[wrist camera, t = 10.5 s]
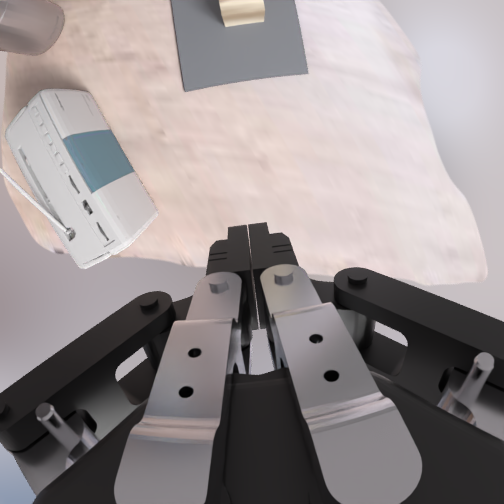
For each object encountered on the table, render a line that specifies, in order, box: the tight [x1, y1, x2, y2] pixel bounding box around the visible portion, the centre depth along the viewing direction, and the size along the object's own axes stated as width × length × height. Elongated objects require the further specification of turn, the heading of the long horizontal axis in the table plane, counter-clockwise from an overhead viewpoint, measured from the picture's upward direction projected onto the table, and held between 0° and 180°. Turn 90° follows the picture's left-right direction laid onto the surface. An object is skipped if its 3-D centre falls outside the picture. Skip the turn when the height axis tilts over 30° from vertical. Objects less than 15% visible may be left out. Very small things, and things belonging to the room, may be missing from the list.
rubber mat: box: [171, 0, 308, 92], centre depth 32 cm, size 22×16×1 cm
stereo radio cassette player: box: [0, 89, 158, 269], centre depth 32 cm, size 21×8×20 cm, turn 28°
